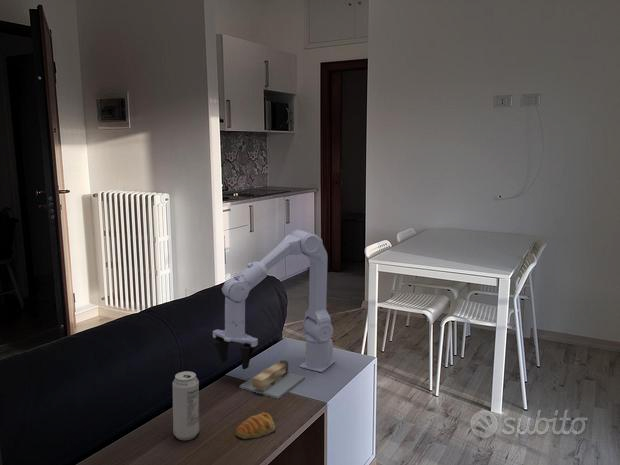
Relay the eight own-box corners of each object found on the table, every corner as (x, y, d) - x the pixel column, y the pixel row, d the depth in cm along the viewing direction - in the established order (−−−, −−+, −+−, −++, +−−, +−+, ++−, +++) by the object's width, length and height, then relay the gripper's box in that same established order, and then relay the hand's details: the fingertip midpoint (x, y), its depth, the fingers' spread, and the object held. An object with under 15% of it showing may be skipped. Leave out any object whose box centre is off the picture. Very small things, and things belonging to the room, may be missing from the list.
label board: (268, 369, 164) (268, 366, 164) (304, 379, 158) (304, 376, 158) (239, 388, 151) (239, 385, 151) (278, 399, 145) (278, 396, 145)
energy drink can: (184, 425, 130) (183, 368, 128) (204, 431, 128) (203, 373, 125) (168, 437, 125) (166, 377, 123) (188, 444, 122) (187, 383, 120)
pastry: (245, 445, 123) (245, 430, 122) (229, 433, 128) (229, 418, 128) (277, 432, 129) (277, 417, 128) (261, 421, 134) (261, 407, 134)
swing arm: (281, 369, 162) (281, 359, 161) (290, 371, 160) (290, 361, 160) (252, 389, 148) (252, 378, 147) (261, 392, 147) (261, 380, 146)
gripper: (206, 319, 152) (206, 364, 154) (247, 328, 145) (247, 375, 147) (221, 313, 158) (221, 356, 160) (262, 321, 151) (261, 366, 153)
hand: (234, 365), depth 154 cm, fingers open, 7 cm apart
